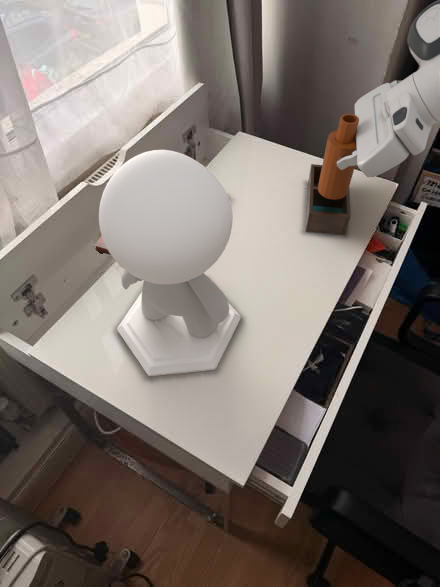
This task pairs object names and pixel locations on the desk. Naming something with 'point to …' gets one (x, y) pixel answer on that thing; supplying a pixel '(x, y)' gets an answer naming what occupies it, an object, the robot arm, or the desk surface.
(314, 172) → the box
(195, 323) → the white cartoon figure
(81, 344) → the desk surface
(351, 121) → the bottle
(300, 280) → the desk surface
